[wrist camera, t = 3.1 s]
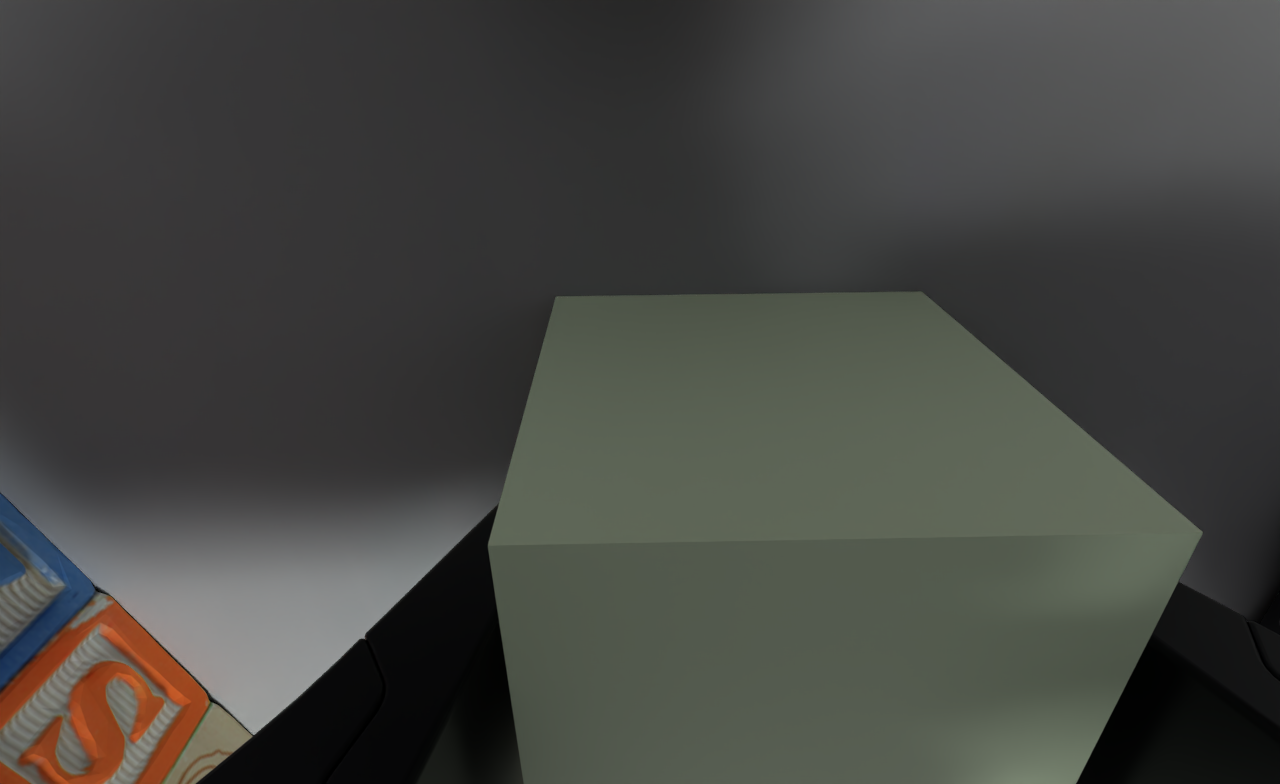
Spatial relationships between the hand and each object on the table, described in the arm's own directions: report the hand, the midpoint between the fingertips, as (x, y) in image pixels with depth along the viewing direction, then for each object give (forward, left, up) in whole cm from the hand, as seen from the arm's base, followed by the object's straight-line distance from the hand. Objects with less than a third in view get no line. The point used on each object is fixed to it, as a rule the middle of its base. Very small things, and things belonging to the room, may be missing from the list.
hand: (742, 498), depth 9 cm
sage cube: (0, 0, -1) cm, 1 cm away
